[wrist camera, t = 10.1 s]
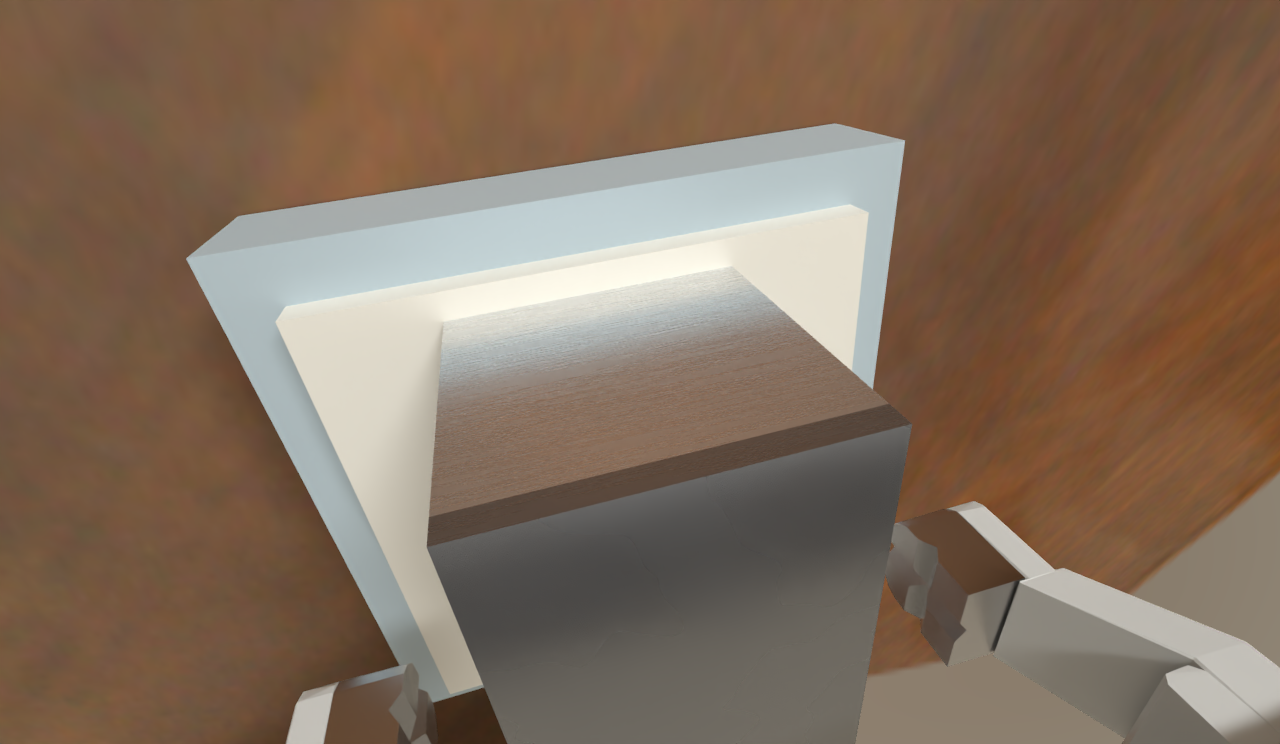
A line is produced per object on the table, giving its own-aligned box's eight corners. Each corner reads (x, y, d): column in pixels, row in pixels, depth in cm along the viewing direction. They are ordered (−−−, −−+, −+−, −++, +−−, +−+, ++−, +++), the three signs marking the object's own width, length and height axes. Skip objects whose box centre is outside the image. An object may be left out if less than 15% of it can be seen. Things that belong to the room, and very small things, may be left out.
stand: (426, 626, 17) (419, 729, 14) (238, 216, 11) (168, 272, 8) (807, 521, 19) (859, 596, 16) (835, 123, 13) (926, 145, 10)
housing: (444, 321, 10) (426, 546, 5) (731, 266, 10) (912, 424, 6) (544, 653, 14) (576, 912, 10) (737, 597, 15) (842, 815, 11)
